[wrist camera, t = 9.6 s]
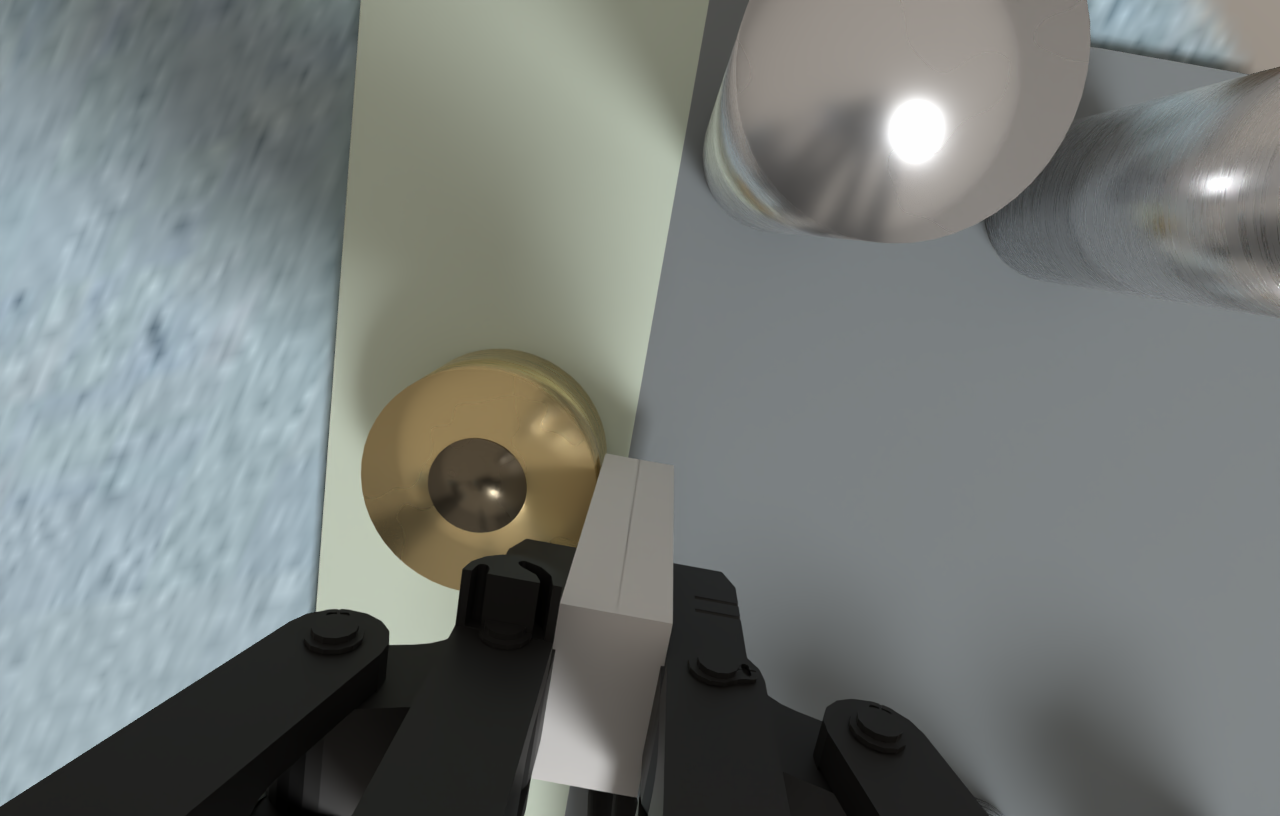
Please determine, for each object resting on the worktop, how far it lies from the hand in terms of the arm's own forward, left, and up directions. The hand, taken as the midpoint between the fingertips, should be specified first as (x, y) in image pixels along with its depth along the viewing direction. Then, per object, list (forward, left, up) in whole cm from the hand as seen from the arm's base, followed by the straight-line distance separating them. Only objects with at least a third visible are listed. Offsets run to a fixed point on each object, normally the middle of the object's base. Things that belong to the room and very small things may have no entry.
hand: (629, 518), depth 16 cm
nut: (-3, +1, -1) cm, 3 cm away
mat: (+7, 0, -2) cm, 7 cm away
